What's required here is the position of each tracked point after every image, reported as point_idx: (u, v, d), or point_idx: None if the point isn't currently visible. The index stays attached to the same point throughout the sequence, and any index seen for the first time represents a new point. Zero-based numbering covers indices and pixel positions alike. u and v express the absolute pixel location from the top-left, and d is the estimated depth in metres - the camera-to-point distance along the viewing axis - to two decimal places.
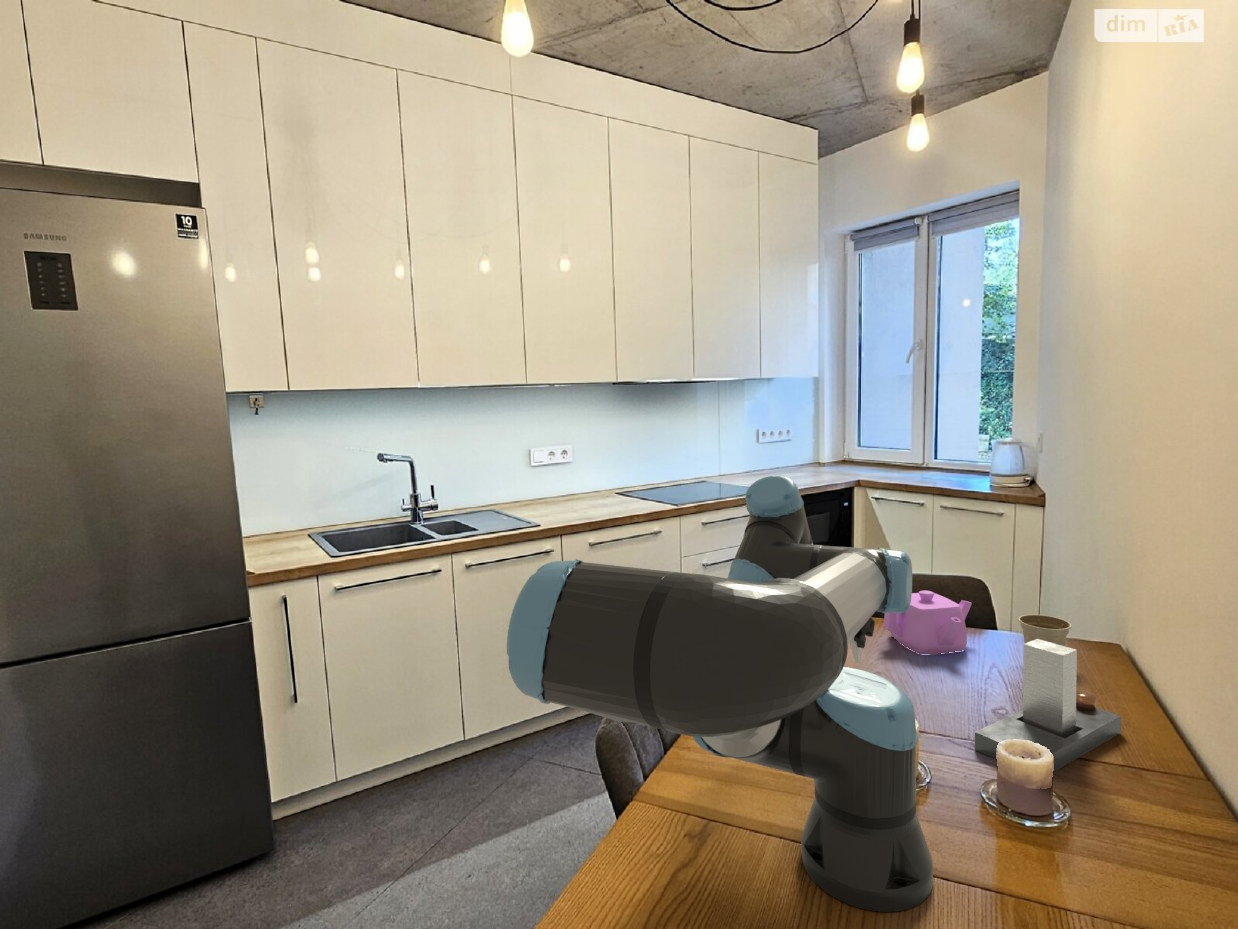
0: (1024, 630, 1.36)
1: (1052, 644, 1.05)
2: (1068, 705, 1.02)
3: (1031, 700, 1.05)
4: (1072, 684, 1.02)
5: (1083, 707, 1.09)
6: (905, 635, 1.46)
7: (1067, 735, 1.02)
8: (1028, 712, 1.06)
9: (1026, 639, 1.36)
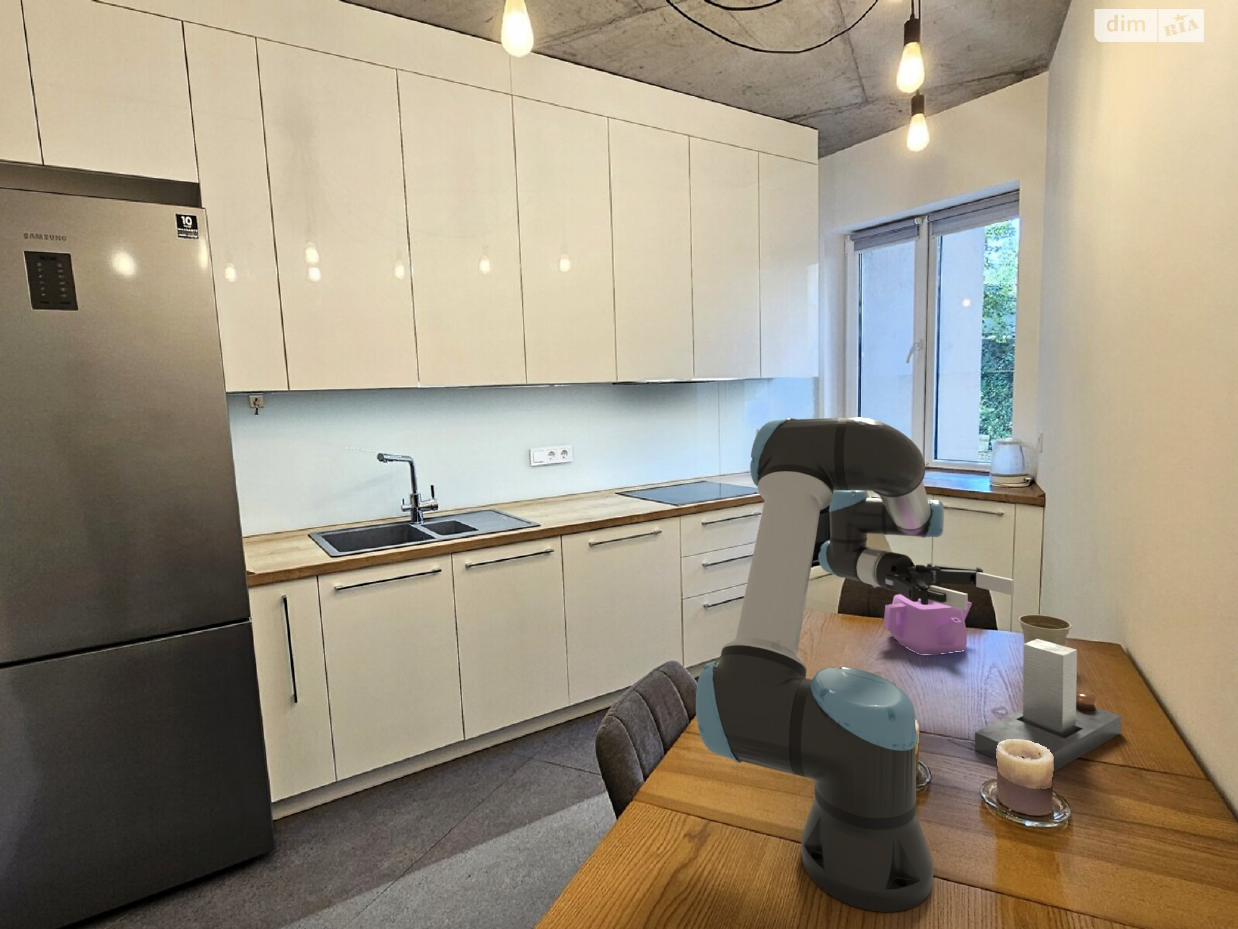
0: (1024, 630, 1.36)
1: (1052, 644, 1.05)
2: (1068, 705, 1.02)
3: (1031, 700, 1.05)
4: (1072, 684, 1.02)
5: (1083, 707, 1.09)
6: (905, 635, 1.46)
7: (1067, 735, 1.02)
8: (1028, 712, 1.06)
9: (1026, 639, 1.36)
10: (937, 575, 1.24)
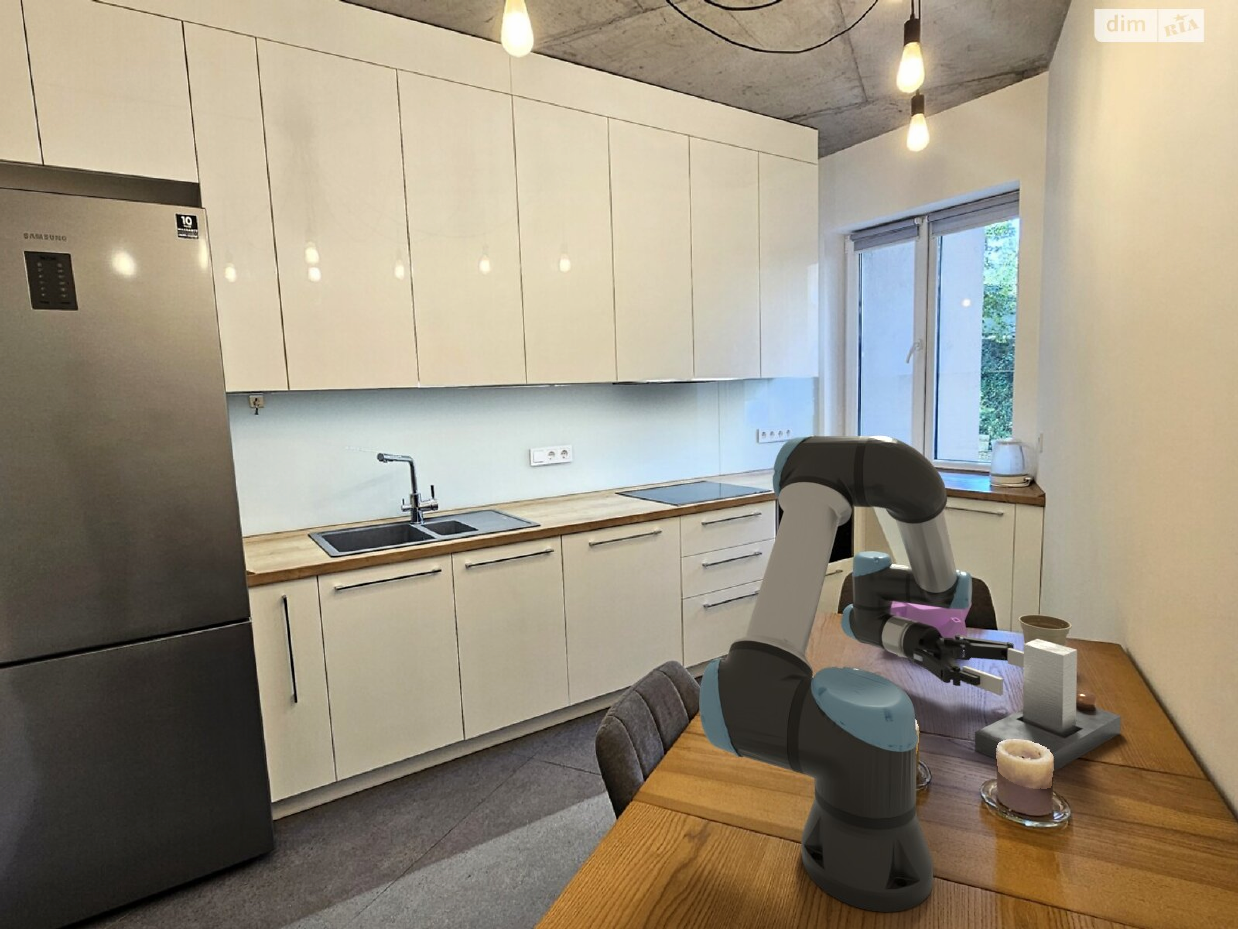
0: (1024, 630, 1.36)
1: (1052, 644, 1.05)
2: (1068, 705, 1.02)
3: (1032, 700, 1.05)
4: (1072, 684, 1.02)
5: (1083, 707, 1.09)
6: None
7: (1067, 735, 1.02)
8: (1028, 712, 1.06)
9: (1026, 639, 1.36)
10: (966, 649, 1.20)
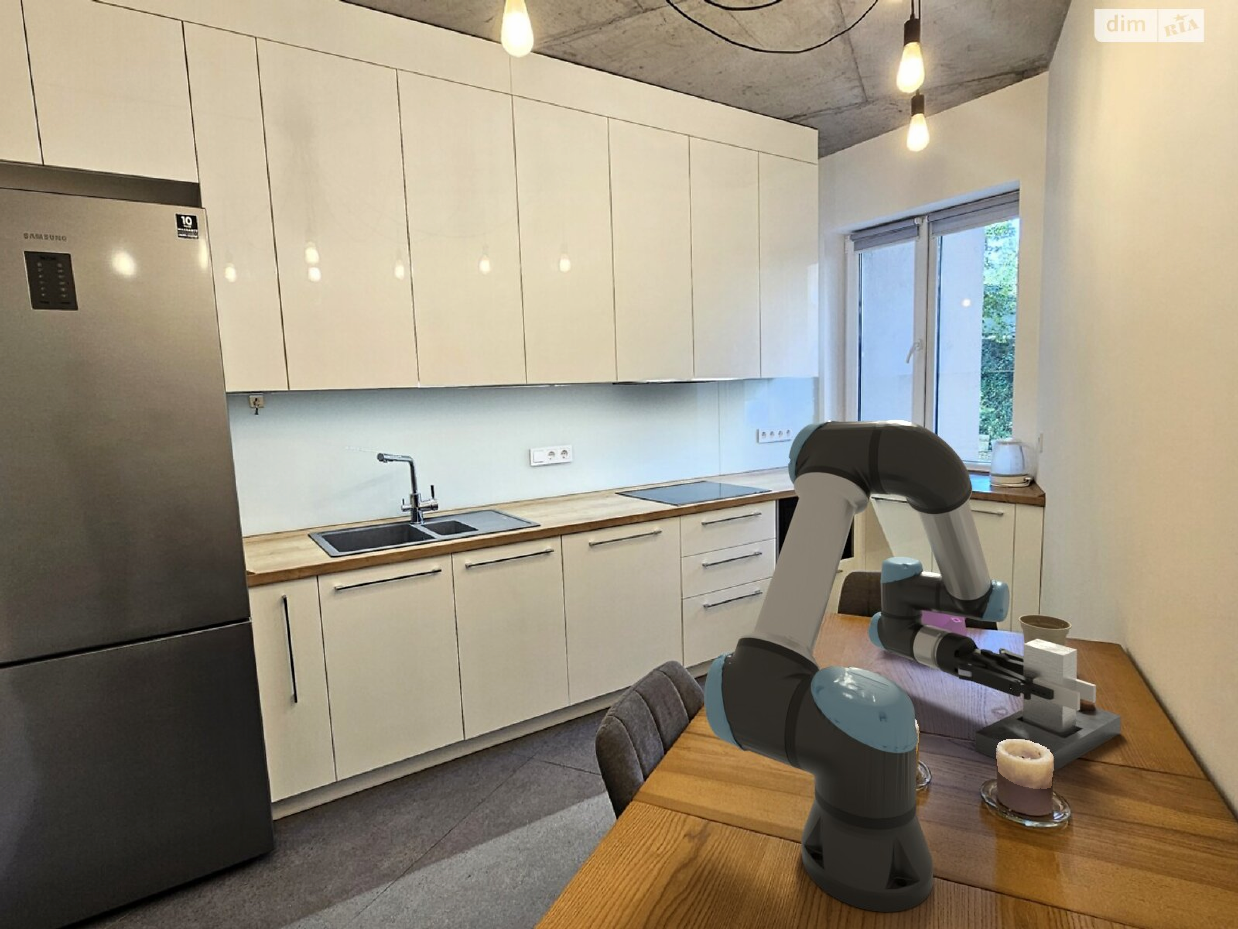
0: (1024, 630, 1.36)
1: (1052, 644, 1.05)
2: None
3: (1031, 700, 1.05)
4: (1072, 684, 1.02)
5: (1083, 707, 1.09)
6: None
7: (1067, 735, 1.02)
8: (1028, 712, 1.06)
9: (1026, 639, 1.36)
10: (1002, 665, 1.12)
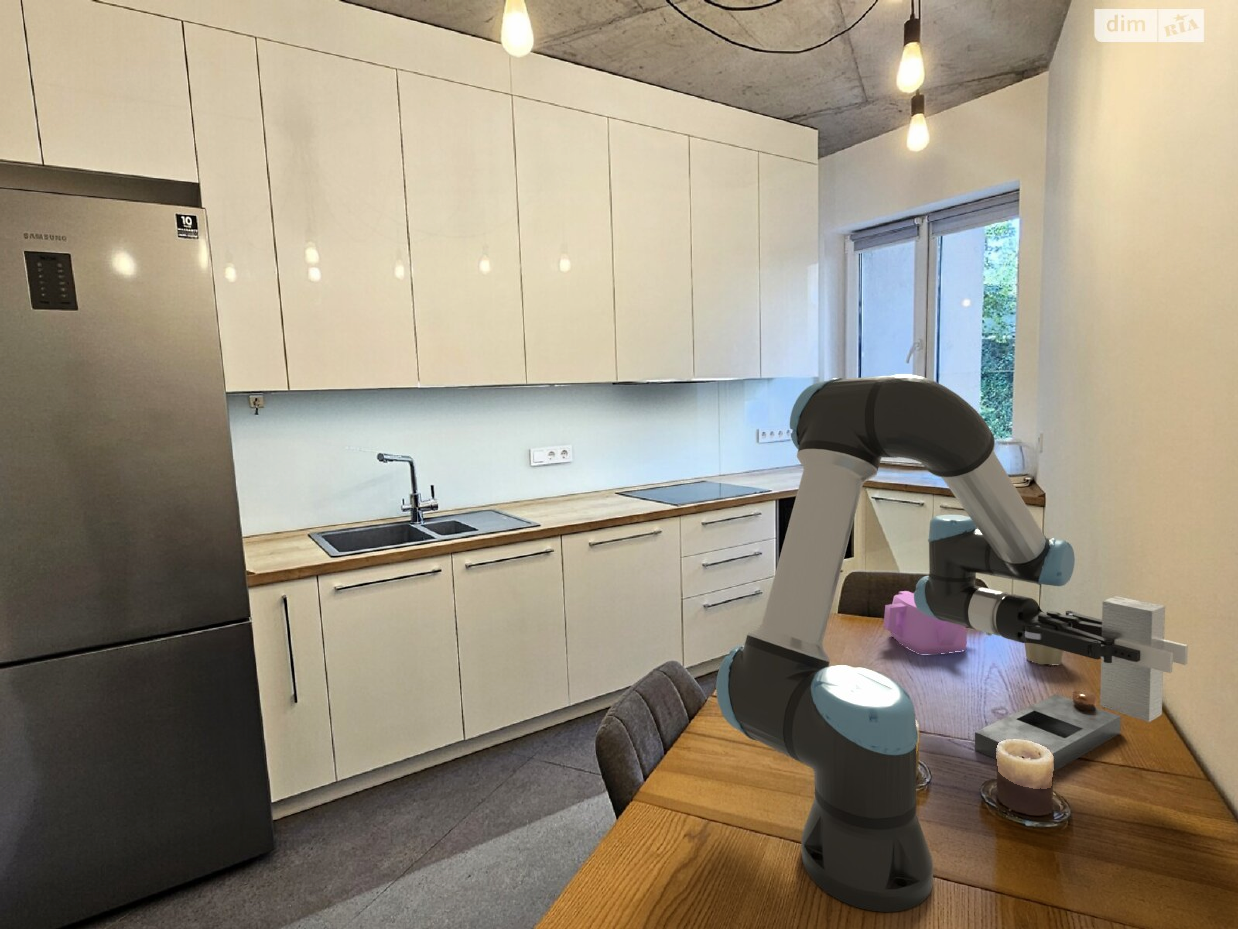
0: None
1: (1135, 601, 0.94)
2: None
3: (1112, 664, 0.94)
4: (1160, 644, 0.91)
5: (1083, 707, 1.09)
6: (905, 635, 1.46)
7: (1154, 702, 0.91)
8: (1107, 677, 0.94)
9: None
10: (1073, 627, 1.01)
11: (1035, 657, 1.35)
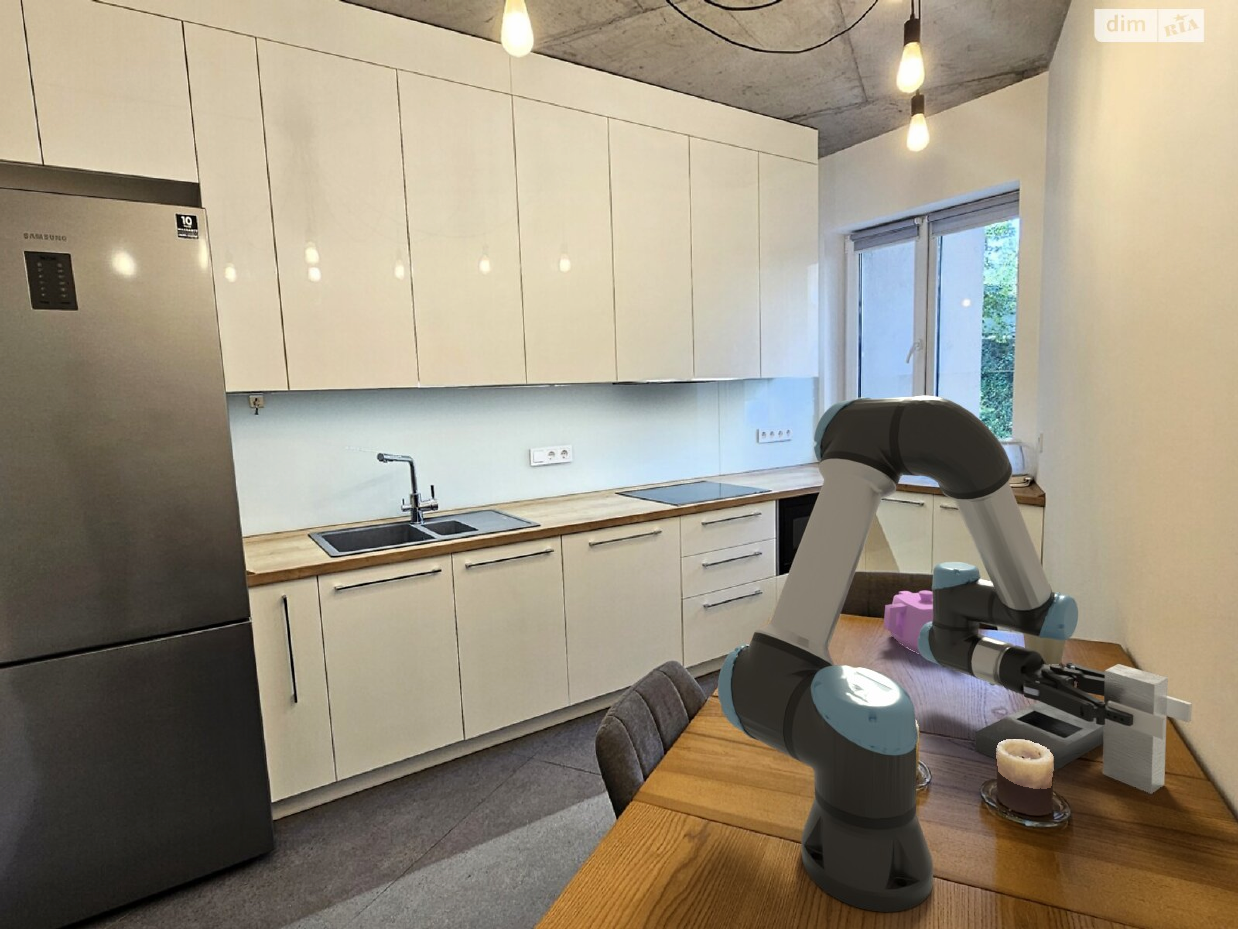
0: None
1: (1137, 671, 0.94)
2: (1158, 739, 0.91)
3: (1114, 733, 0.94)
4: (1162, 716, 0.91)
5: None
6: (905, 635, 1.46)
7: (1156, 773, 0.91)
8: (1110, 746, 0.95)
9: (1026, 639, 1.36)
10: (1078, 681, 1.01)
11: None
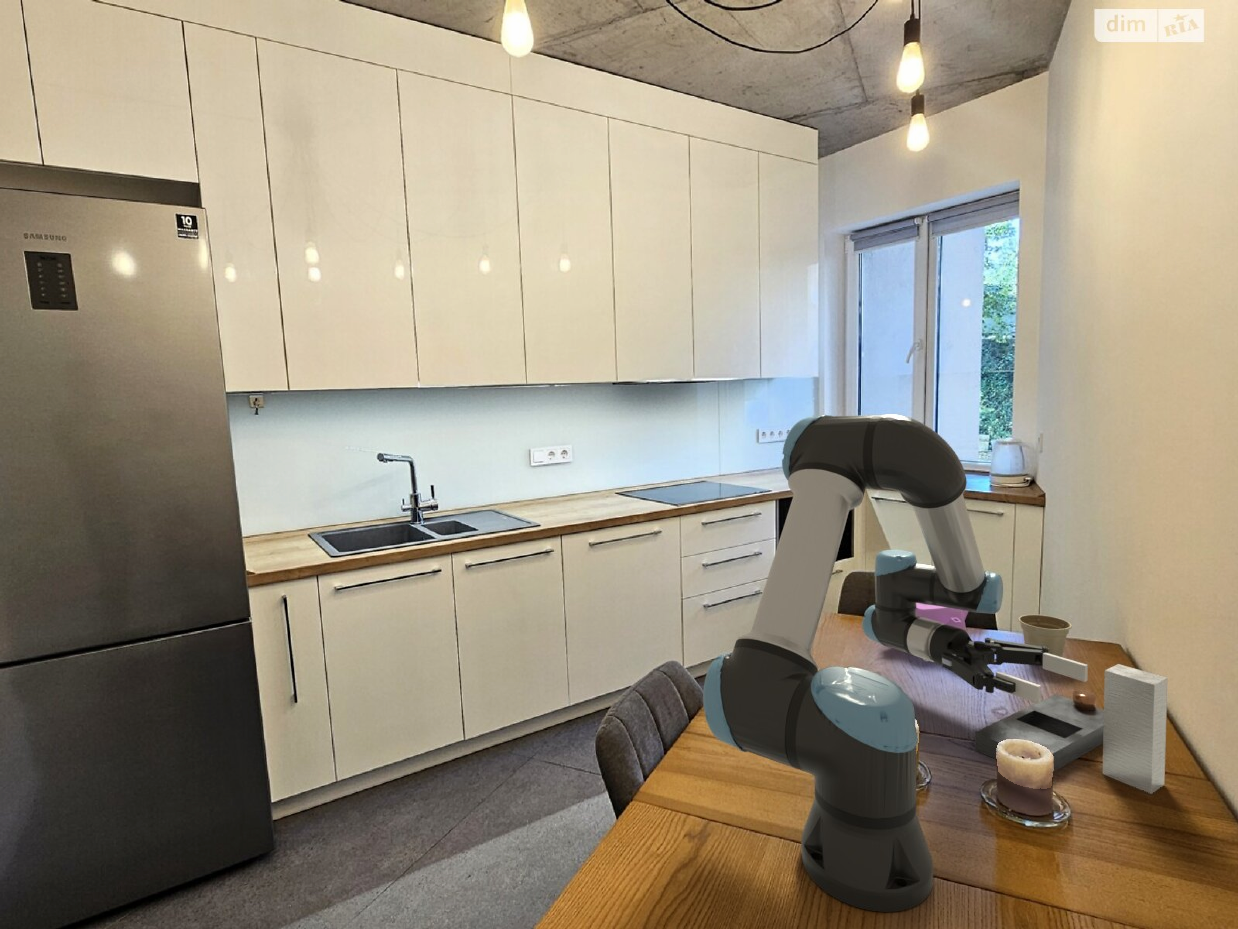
0: (1024, 630, 1.36)
1: (1137, 671, 0.94)
2: (1158, 739, 0.91)
3: (1114, 733, 0.94)
4: (1162, 716, 0.91)
5: (1083, 707, 1.09)
6: None
7: (1156, 773, 0.91)
8: (1109, 746, 0.95)
9: (1026, 639, 1.36)
10: (998, 654, 1.13)
11: None
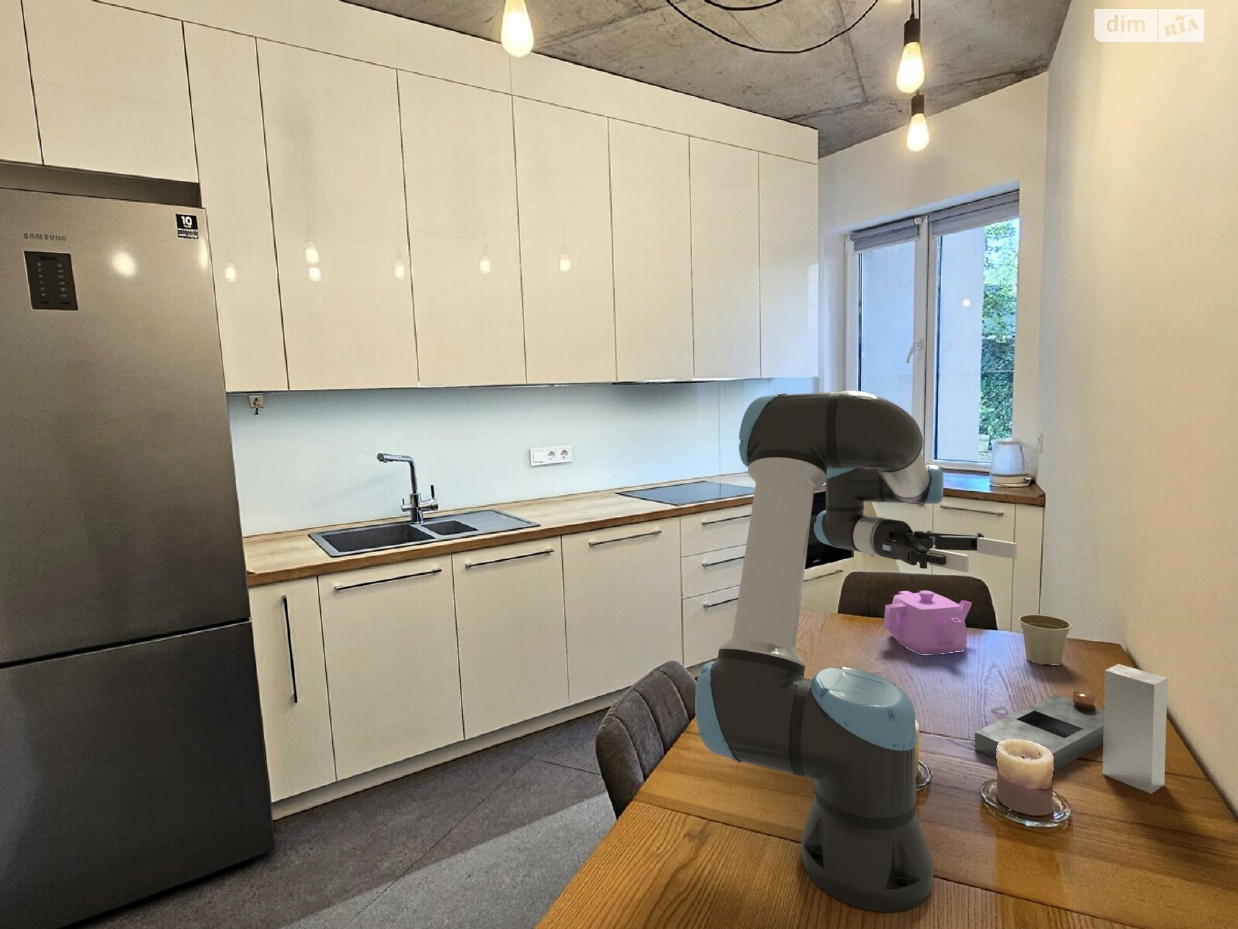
0: (1024, 630, 1.36)
1: (1137, 671, 0.94)
2: (1158, 739, 0.91)
3: (1114, 733, 0.94)
4: (1162, 716, 0.91)
5: (1083, 707, 1.09)
6: (905, 635, 1.46)
7: (1156, 773, 0.91)
8: (1109, 746, 0.95)
9: (1026, 639, 1.36)
10: (936, 541, 1.19)
11: (1035, 657, 1.35)
